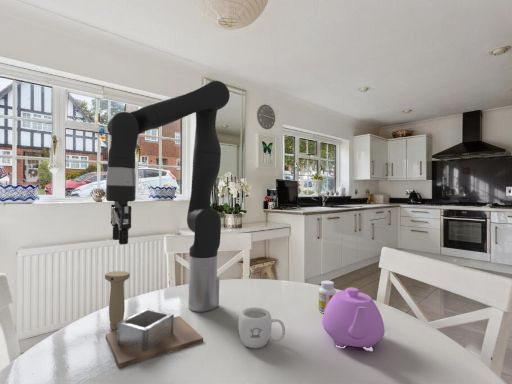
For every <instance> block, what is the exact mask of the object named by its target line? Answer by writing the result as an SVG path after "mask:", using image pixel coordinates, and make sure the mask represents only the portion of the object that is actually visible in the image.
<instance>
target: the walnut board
mask: <svg viewBox="0 0 512 384" xmlns="http://www.w3.org/2000/svg"><path fill="white" fill-rule="evenodd" d="M105 339H106V342H107V344H108V346H109V348H110V351H111V354H112V356H113V358H114V361H115V363H116V365H117V367H118V369H120V368H123V367H127V366H130V365H133V364H137V363H139V362H140V363H141V362H142V361H143V362H144V361H146V360H149V359H152V358H156V357H159V356H161V355H165V354H169V353H171V352H175V351H178V350H181V349H185V348H188V347H191V346H194V345H198V344H200V343H203V342H204V337H203V336H202V335H201V334H200V333H198V331H197V330H196V329H194V327H192V326H191V325H190V324H189V323H188V322H187V321H186V320H185V319H183V317H182V316H180V315H178V316H174V325H173V334H171V335H170V336H168V337H167V338H165V339H164V340H162V341H161V342H159V343H158V344H156V345H155V346H153V347H152V348H150V349H148V350H147V351H145V352H144V351H141V350H138V349H134V348H131V347H128V346H125V345H122V344H118V343H117V330H115V331H112V332H107V333H105Z"/></svg>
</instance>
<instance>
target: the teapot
mask: <svg viewBox="0 0 512 384" xmlns="http://www.w3.org/2000/svg"><path fill="white" fill-rule="evenodd" d="M321 321H322V322H321V323H322V326H323V330H324V331H325V332H326V333H327V335H328V336H329V337H330V338H331V339H332V340H334V341H336V342H335V344H336V345H337V346H340V347H344V346H346V345H347V346H351V347H358V348H362V347H366V348H370V347H372V346H373V347H374V346H375V345H376V344H378V343H379V342H380V341H381V340H382V339H383V338H384V336H385V330H386V329H385V325H384V324H385V323H384V319H383V317H382V314H381V312H380V310H379V308H378V306H377V305H376V303H375V301H374V300H373V298H372V297H371V296H370V295H368V294H367V293H364V292H361V291H360V289H359V288H357V287H351V286H350V287H346V289H344V290H339V291H336V293H335V294H334V296H333V297H332V298H331V300H330V301H329V303H328V304H327V306H326V308H325V311H324V314H323V315H322V319H321ZM347 346H346V347H347Z"/></svg>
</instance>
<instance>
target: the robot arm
mask: <svg viewBox="0 0 512 384" xmlns="http://www.w3.org/2000/svg"><path fill="white" fill-rule="evenodd" d="M230 97H231V96H230V90H229V88H228V87H227V85H226V84H225V83H224V82H222V81H221V80H211V81H208V82H206V83H204V84H202V85H201V86H200V87H199V88H197V89H194V90H192V91H189V92H186V93H183V94H181V95H178V96H174V97H170V98H167V99H166V98H165V99H163V100H158V101H156V102H152V103H149V104H146V105H144V106H141V107H139V108H138V109H136V110H133V111H122V110H121V111H119V112H116V113H115V114H113V115H112V117H110V119H109V120H108V122H107V126H106V127H107V132H108V133H109V135H110V137H111V139H110V140H111V141H110V148H109V150H108V154H107V155H108V156H107V172H106V185H105V186H106V191H105V192H106V193H105V195H106V196H105V197H106V198H105V200H106V201H107V202H114V203H112V204H111V205H110V206H111V208H110V210H111V211H110V224H111V227H112V240H114V241H118V244H119V245H127V244H129V230H130V229H131V228H132V209H133V208H132V206H131V205H129V204H128V203H129V202H135V201H136V195H137V194H136V190H137V189H136V187H137V185H136V184H137V177H136V175H137V174H136V151H137V150H136V149H137V144H138V138H139V135H140V134H143V133H145V132H148V131H151V130H154V129H159V128H160V127H161V128H162V127H164V126H167V125H169V124H172V123H175V122H176V121H179V120H180V119H183V118H185V117H188V116H190V115H193V114H195V129H194V130H195V131H194V143H193V153H192V154H193V155H192V175H191V192H190V196H189V197H190V198H189V204H188V209H187V210H188V211H187V215H186V222H187V227H188V228H189V230H190V231H191V232H193V233H194V240H193V244H192V245H191V246H190V248H189V259H188V261H189V264H188V265H189V266H188V268H189V269H188V271H189V272H188V301H187V303H188V305H187V306H188V309H189V310H190V311H193V312H197V313H198V312H199V313H200V312H201V313H202V312H203V313H204V312H209V311H213V310H215V308H217V307H219V306H220V277H218V251H219V248H220V244H221V234H222V220H221V216H220V213H219V212H218V210H216V209H215V208H213V207H211V199H212V198H211V197H212V193H213V189H214V185H215V183H216V180H217V179H218V176H219V173H220V169H221V160H222V157H221V156H222V153H221V152H222V149H221V144H220V140H219V138H218V135H217V130H216V128H217V127H216V126H217V125H216V123H217V122H216V121H217V114H218V113H217V112H218V111H219V110H221V109H223V108H224V107H225V106H226V105H227V104H228V103H229V100H230Z"/></svg>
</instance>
